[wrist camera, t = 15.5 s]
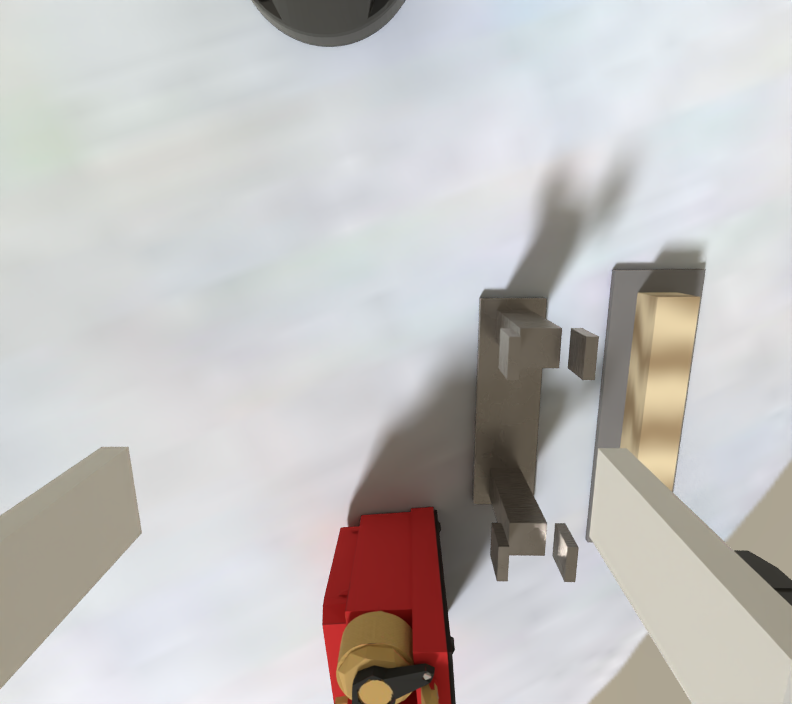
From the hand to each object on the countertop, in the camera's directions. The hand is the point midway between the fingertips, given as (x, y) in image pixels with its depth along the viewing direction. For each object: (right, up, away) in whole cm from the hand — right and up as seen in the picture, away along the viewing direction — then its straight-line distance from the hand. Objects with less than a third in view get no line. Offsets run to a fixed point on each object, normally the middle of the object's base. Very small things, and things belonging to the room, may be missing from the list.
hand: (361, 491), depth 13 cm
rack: (+12, -1, +33) cm, 35 cm away
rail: (+25, -2, +32) cm, 41 cm away
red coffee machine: (+1, -20, +38) cm, 42 cm away
